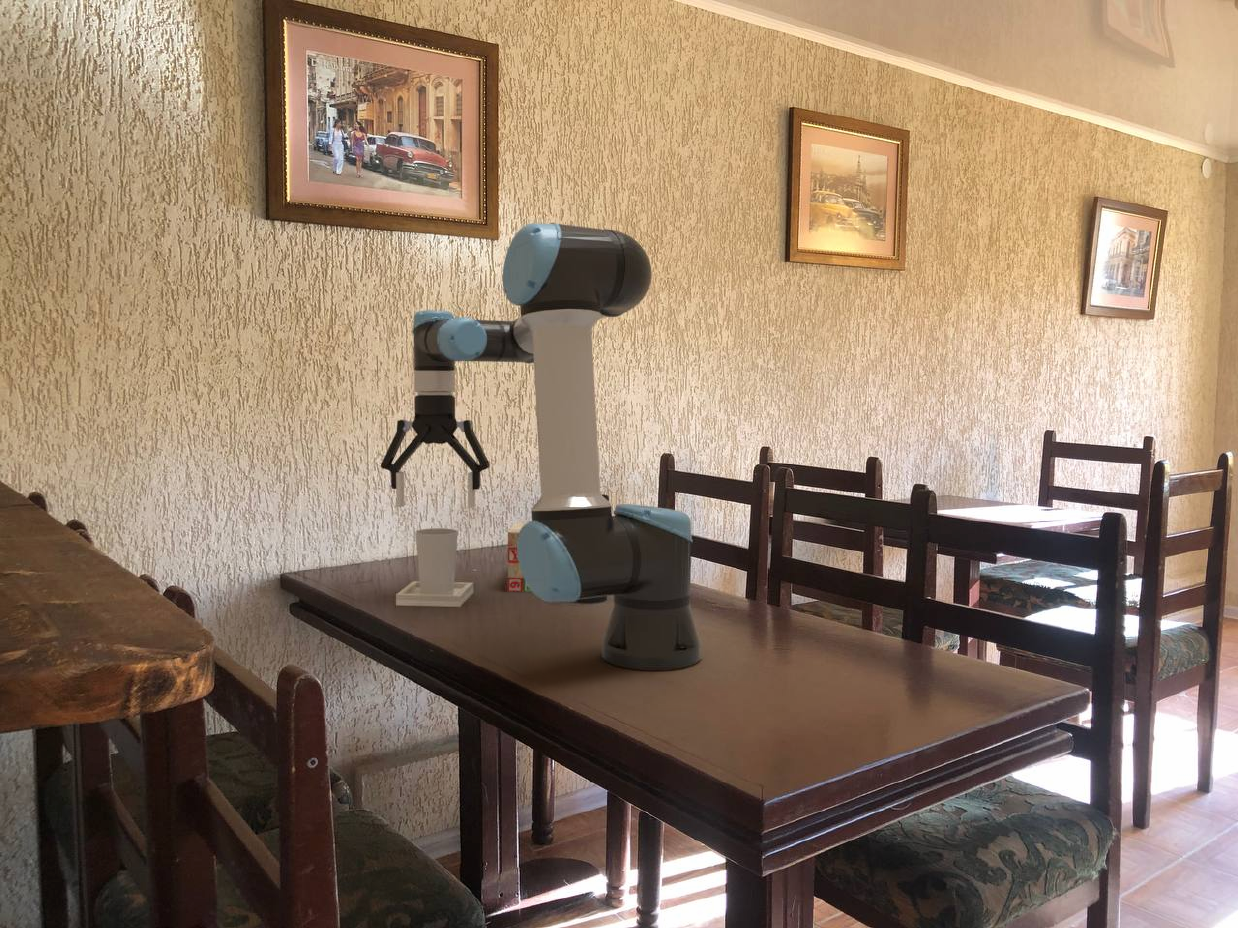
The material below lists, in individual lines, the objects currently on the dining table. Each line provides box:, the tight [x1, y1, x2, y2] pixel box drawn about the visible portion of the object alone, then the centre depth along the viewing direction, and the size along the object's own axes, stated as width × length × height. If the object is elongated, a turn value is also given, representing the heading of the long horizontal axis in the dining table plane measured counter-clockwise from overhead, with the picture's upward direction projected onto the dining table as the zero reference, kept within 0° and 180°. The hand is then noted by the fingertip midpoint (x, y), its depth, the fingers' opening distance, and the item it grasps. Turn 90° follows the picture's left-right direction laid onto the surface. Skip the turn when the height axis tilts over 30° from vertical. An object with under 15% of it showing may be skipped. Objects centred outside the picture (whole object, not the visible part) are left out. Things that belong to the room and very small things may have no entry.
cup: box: [415, 527, 459, 595], centre depth 187 cm, size 8×8×12 cm
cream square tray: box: [395, 580, 474, 608], centre depth 188 cm, size 12×12×2 cm
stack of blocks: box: [506, 521, 533, 593], centre depth 205 cm, size 21×6×12 cm, turn 1°
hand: (436, 506), depth 186 cm, fingers open, 13 cm apart
